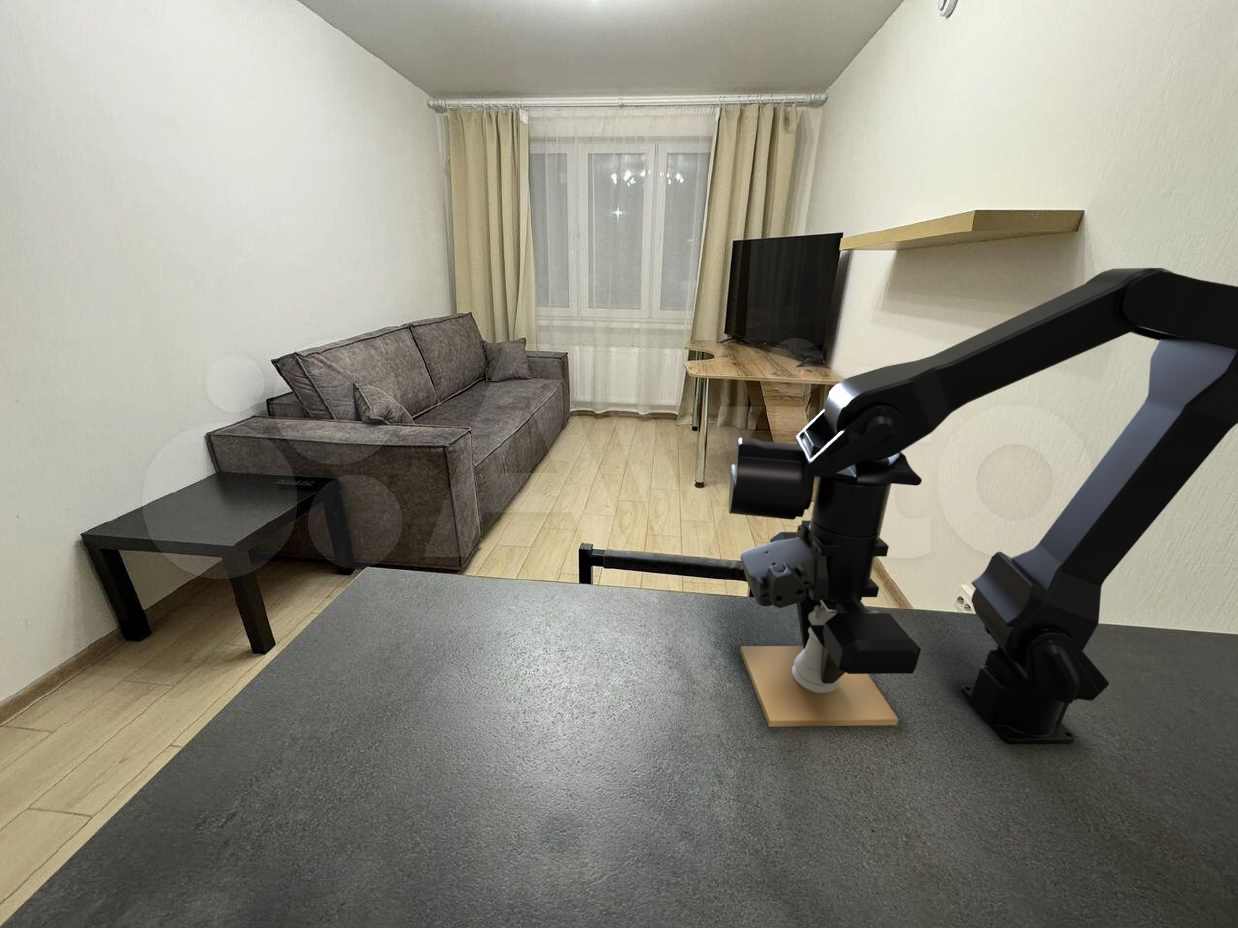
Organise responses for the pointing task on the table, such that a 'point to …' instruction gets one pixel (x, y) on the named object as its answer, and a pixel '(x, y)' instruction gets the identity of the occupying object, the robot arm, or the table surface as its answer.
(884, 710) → the coaster board
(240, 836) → the table surface
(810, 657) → the white chess queen
